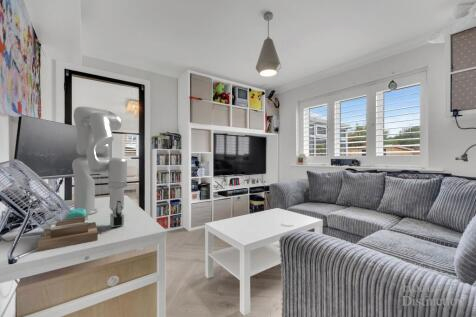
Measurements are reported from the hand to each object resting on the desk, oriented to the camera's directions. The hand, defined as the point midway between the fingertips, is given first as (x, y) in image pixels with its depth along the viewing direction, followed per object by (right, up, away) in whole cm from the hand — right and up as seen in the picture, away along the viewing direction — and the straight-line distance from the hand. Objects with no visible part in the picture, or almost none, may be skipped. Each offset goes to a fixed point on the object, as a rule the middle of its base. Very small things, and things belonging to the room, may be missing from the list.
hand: (117, 223), depth 99 cm
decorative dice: (-17, -2, -3) cm, 18 cm away
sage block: (0, -1, 0) cm, 1 cm away
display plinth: (-10, -1, -15) cm, 18 cm away
